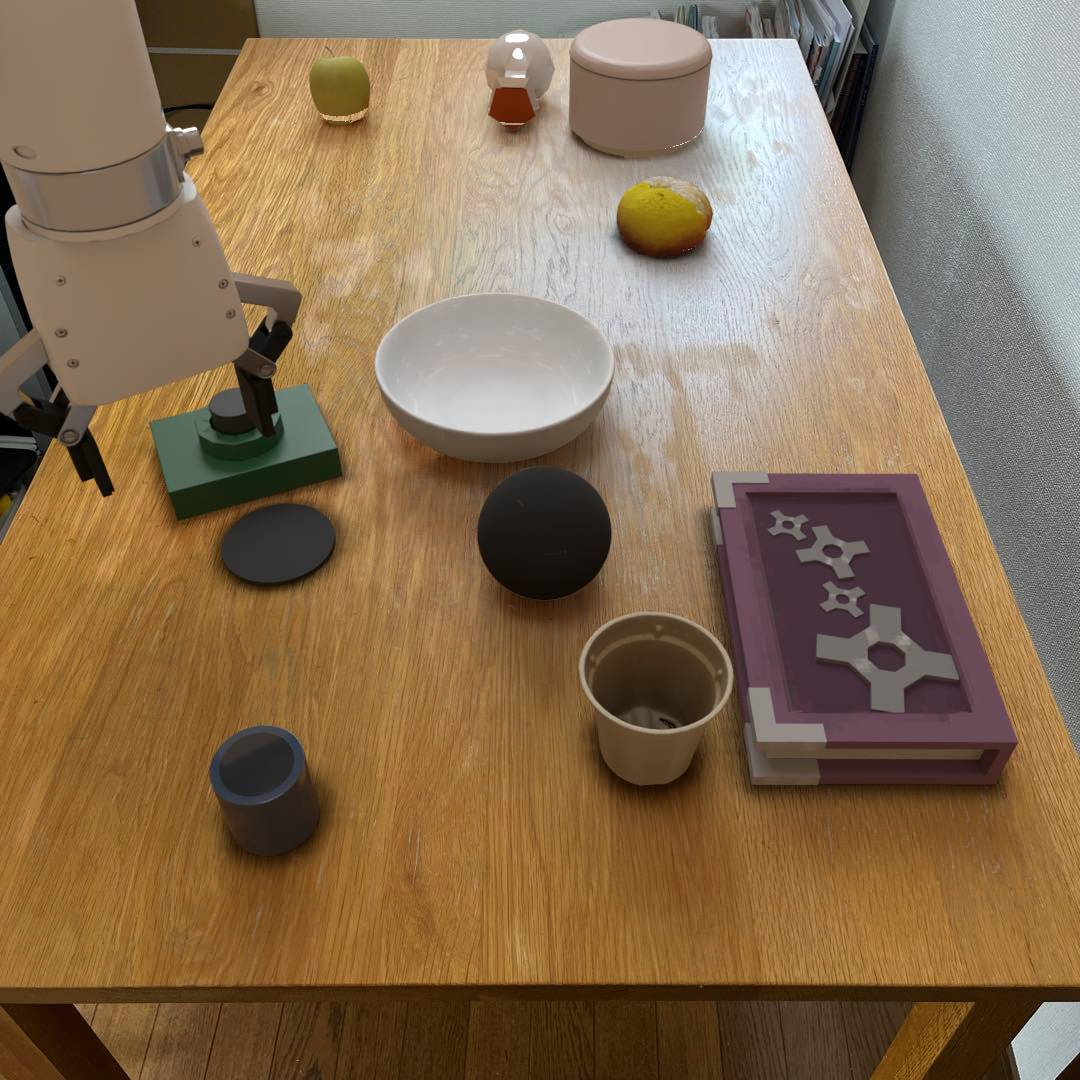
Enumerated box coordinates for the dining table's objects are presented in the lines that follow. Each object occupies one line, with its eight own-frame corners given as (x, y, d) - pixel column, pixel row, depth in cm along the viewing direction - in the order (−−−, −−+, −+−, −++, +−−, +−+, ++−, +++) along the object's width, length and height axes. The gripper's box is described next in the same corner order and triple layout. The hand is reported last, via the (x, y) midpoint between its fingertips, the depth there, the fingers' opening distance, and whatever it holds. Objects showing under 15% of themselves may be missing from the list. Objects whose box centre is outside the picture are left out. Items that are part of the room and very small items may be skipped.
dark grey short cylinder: (219, 441, 86) (213, 421, 84) (209, 413, 88) (204, 394, 87) (267, 428, 87) (262, 409, 85) (256, 402, 89) (252, 382, 88)
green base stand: (177, 521, 86) (162, 475, 82) (158, 449, 92) (142, 404, 89) (343, 476, 89) (334, 430, 86) (313, 410, 96) (304, 365, 92)
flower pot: (702, 827, 66) (718, 750, 60) (559, 789, 68) (560, 710, 62) (727, 710, 72) (744, 629, 66) (596, 679, 74) (600, 597, 68)
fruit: (734, 243, 117) (726, 183, 110) (655, 288, 116) (642, 230, 109) (681, 198, 124) (671, 140, 117) (606, 241, 123) (592, 184, 116)
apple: (360, 129, 137) (331, 49, 131) (315, 136, 141) (284, 59, 135) (392, 106, 142) (365, 29, 136) (347, 114, 146) (319, 40, 140)
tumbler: (240, 869, 64) (219, 818, 59) (222, 796, 67) (200, 742, 63) (329, 836, 65) (314, 784, 61) (307, 766, 69) (291, 712, 65)
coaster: (234, 599, 79) (233, 596, 79) (212, 524, 85) (210, 521, 85) (349, 565, 82) (348, 562, 82) (319, 495, 88) (318, 491, 88)
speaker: (547, 649, 76) (548, 554, 69) (453, 581, 81) (444, 485, 74) (635, 576, 81) (643, 480, 74) (541, 516, 86) (540, 420, 79)
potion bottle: (532, 96, 150) (523, 153, 141) (475, 56, 146) (462, 112, 137) (570, 45, 144) (563, 102, 135) (512, 2, 140) (500, 57, 131)
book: (705, 517, 86) (712, 471, 82) (901, 517, 86) (917, 471, 82) (746, 785, 68) (757, 741, 64) (994, 786, 68) (1019, 742, 64)
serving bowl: (432, 524, 85) (425, 460, 80) (352, 385, 99) (342, 323, 94) (653, 453, 91) (659, 390, 87) (550, 332, 105) (550, 271, 100)
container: (554, 154, 134) (555, 60, 125) (582, 99, 146) (585, 10, 138) (694, 168, 131) (704, 72, 122) (711, 110, 143) (721, 20, 135)
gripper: (240, 107, 55) (295, 374, 67) (-115, 191, 48) (17, 470, 60) (297, 161, 50) (345, 436, 62) (-85, 261, 44) (51, 547, 56)
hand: (184, 452), depth 61 cm, fingers open, 9 cm apart
